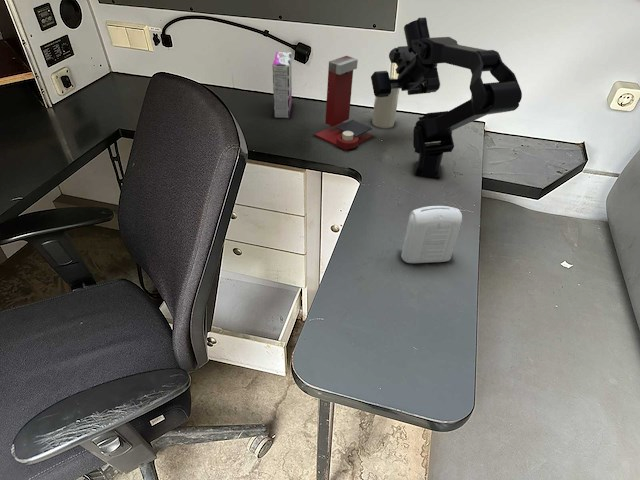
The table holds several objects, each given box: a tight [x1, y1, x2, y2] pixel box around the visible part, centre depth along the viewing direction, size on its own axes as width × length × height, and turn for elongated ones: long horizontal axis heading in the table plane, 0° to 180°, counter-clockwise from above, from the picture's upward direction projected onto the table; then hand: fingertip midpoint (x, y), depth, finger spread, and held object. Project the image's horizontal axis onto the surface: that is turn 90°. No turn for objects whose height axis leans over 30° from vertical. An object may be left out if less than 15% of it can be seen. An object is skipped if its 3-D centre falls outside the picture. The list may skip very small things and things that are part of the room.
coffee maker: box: [314, 122, 374, 152], centre depth 135 cm, size 13×13×2 cm
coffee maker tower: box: [325, 55, 373, 137], centre depth 130 cm, size 12×7×18 cm, turn 48°
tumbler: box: [371, 76, 401, 129], centre depth 140 cm, size 7×7×13 cm
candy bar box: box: [272, 51, 293, 119], centre depth 143 cm, size 11×5×16 cm, turn 179°
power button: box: [342, 131, 353, 141], centre depth 130 cm, size 3×3×2 cm
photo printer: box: [400, 205, 463, 264], centre depth 93 cm, size 10×4×12 cm, turn 98°
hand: (393, 94), depth 135 cm, fingers open, 9 cm apart
